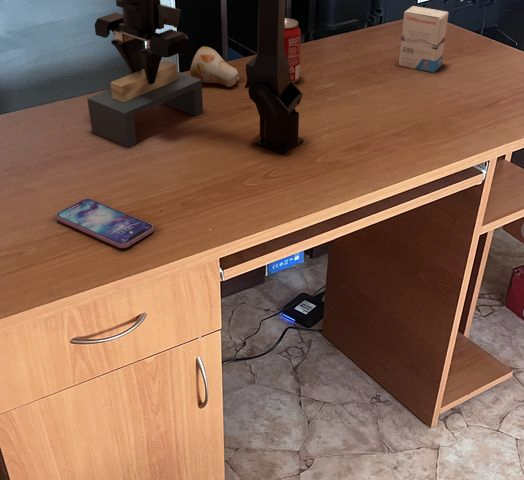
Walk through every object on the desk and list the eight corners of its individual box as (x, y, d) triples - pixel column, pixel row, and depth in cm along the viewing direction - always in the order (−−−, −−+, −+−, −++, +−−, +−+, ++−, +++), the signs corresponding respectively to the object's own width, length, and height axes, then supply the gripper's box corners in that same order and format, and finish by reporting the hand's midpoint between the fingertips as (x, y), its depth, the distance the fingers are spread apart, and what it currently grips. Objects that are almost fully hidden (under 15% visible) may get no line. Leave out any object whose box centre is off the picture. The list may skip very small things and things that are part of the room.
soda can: (304, 77, 169) (306, 20, 161) (291, 88, 164) (293, 30, 156) (275, 72, 171) (276, 15, 163) (262, 83, 166) (262, 25, 158)
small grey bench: (203, 112, 155) (201, 79, 150) (128, 147, 143) (124, 113, 139) (166, 99, 160) (164, 67, 155) (91, 132, 148) (87, 98, 143)
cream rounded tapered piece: (233, 94, 162) (207, 52, 157) (202, 104, 169) (176, 63, 163) (251, 74, 166) (226, 31, 160) (220, 84, 172) (195, 43, 167)
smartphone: (87, 196, 127) (156, 225, 121) (87, 202, 128) (156, 231, 121) (52, 214, 123) (122, 245, 116) (53, 220, 123) (123, 251, 117)
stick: (123, 102, 142) (121, 86, 140) (112, 98, 144) (110, 82, 142) (177, 79, 150) (176, 64, 148) (166, 75, 152) (165, 60, 150)
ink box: (442, 66, 174) (450, 11, 166) (433, 73, 171) (441, 17, 163) (406, 58, 177) (413, 4, 170) (397, 65, 174) (403, 10, 167)
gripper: (208, -8, 136) (211, 81, 146) (133, -28, 145) (141, 57, 155) (162, 8, 130) (169, 99, 140) (87, -14, 139) (98, 73, 149)
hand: (145, 81), depth 146 cm, fingers open, 3 cm apart
